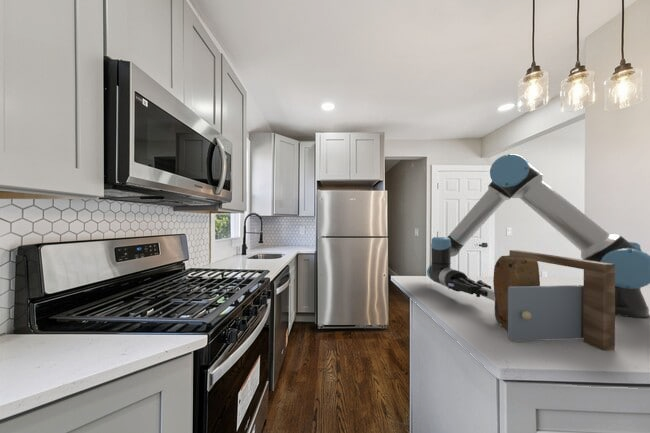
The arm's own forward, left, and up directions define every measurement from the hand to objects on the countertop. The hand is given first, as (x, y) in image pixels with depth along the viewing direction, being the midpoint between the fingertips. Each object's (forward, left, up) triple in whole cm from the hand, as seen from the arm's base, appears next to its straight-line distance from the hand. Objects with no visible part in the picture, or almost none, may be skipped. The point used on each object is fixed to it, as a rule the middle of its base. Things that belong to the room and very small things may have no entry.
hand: (497, 296), depth 83 cm
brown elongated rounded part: (0, +6, -7) cm, 9 cm away
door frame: (-12, +6, -7) cm, 15 cm away
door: (-3, +15, -6) cm, 17 cm away
